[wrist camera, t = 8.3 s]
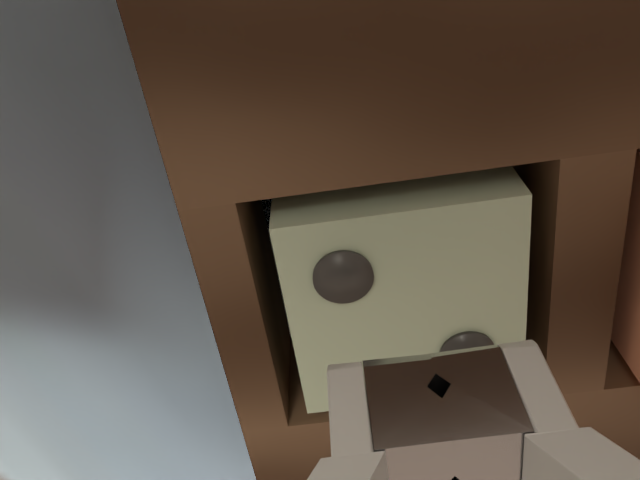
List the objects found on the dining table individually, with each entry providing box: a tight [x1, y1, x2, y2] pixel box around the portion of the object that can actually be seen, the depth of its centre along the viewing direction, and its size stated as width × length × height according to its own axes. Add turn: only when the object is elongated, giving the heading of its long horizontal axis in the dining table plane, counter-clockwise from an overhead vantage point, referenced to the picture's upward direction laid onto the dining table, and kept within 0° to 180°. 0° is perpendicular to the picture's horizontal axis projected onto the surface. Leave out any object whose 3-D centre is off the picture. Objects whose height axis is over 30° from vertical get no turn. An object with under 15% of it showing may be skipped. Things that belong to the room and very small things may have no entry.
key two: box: [269, 166, 532, 414], centre depth 13 cm, size 4×4×3 cm
